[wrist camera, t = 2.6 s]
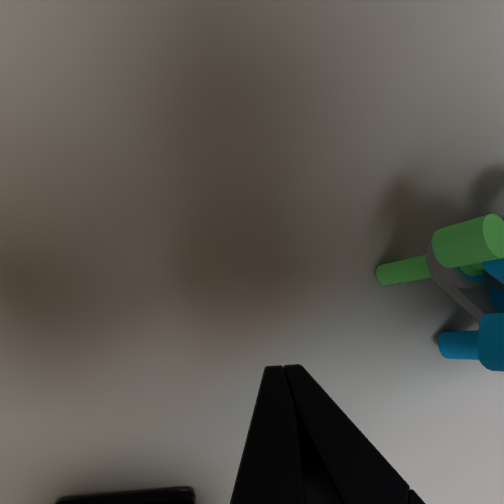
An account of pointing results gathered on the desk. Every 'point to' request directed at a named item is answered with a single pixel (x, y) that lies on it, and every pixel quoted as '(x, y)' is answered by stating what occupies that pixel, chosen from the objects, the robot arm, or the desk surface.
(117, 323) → the desk surface
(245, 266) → the desk surface
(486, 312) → the gear
